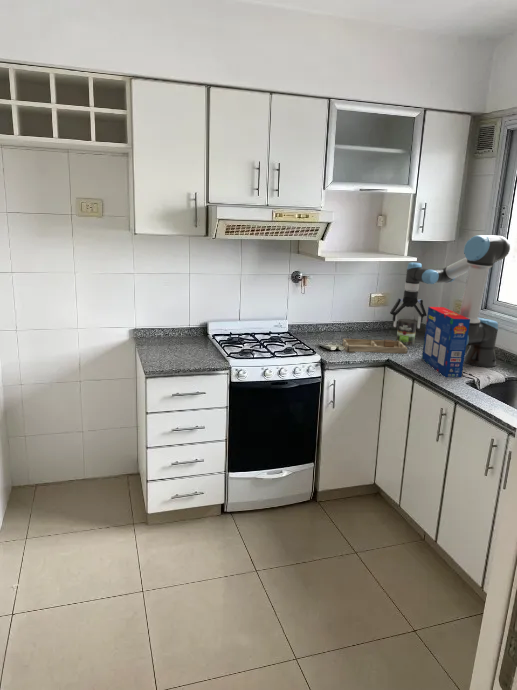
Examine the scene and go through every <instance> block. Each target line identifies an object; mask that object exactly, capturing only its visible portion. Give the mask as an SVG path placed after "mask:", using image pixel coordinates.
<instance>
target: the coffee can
mask: <svg viewBox="0 0 517 690" xmlns="http://www.w3.org/2000/svg"><path fill="white" fill-rule="evenodd" d="M397 322H398V323H397V329H396V330H397V331H396V339H395V341H400V342H401V343H402V344H403V345H404V346H406V347H407V346H414V345H415V339H416V333H417V332H416V329H417V324H418V320H415V319H410V318H400V319H397Z"/></svg>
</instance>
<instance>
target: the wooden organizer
mask: <svg viewBox="0 0 517 690" xmlns="http://www.w3.org/2000/svg"><path fill="white" fill-rule="evenodd" d="M384 340H385V339H367V338H366V339H363V338H361V339H359V338H342V346H344V347H345V348H344V347H343V348H344V350H345V351H346V353H351V354H352V353H355V354H356V352H358V353H359V352H362V353H363V352H366V353H367V352H368V353H383V354H384V353H385V354H386V353H387V354H389V353H390V354H408V350H409V349H408V348H407V346H406V345H403V344H402V343H401V342H400V341H396V340H393V341H394V347H383V346H384Z"/></svg>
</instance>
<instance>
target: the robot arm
mask: <svg viewBox="0 0 517 690" xmlns="http://www.w3.org/2000/svg"><path fill="white" fill-rule="evenodd" d="M463 248H464V249H463V253H464V258H462V259H459V260H458V261H456V262H453V263H451V264H450V265H448V266H444V267H443V268H424V267H422V266H423V265H422V263H420V262H413V261H411V262H409V263H407V268H406V276H405V282H404V291H403V298H400V297H398V298H397V300H396V302H395V304H394V305H393V307H392V308H391V311H389V314H390V315H392V321H393V327H394V328H396V327H397V322H398V314H399V313H400V312H401V311H402V310H403V309H404V308H414V309H415V311H416V312H417V314H418V315H419V316H418V315H417V317H418V318H417V325H416V329H420V328H421V323H423V319H424V318H425V317H427V315H428V313H427V311H426V309H425V306H424V303H423V302H424V301H423V299H422V298H420V299H418V296H419V292H418V291H419V288H420V283H423V284H427V285H434V284H437V283H438V284H439V283H440V284H441V283H446V284H447V283H452V282H454V281H455V280H456V278H458V277H460V276H463V275H465V274H467V276H466V281H465V286H464V291H463V295H462V300H461V303H460V310H459V314H460V315H462V316H464V317H466V318H469V319H470V324H469V331H468V337H467V344H466V347H467V346H469V348H468V350H467V352H465V357H464V363H466V364H469V365H470V366H471V365H472V366H474V365H475V366H476V367H480V366H483V367H482V368H493V367H496V365H497V358H496V353H495V347H496V343H497V336H498V332H499V323H498V321H496V320H493V319H489V318H483V317H479V314H480V309H481V305H482V301H483V296H484V291H485V287H486V282H487V279H488V278H487V277H488V272H489V269H490V268H492V267H494V263H497V262H499V261H502V260H503V259H505V258H506V257H507V256H508V255H509V252H510V250H511V244H510V242H509V240H508V239H507V238H506V237H504V236H502V235H491V234H490V235H489V234H488V235H486V234H485V235H484V234H480V235H474V236H472V237H471V238H469V239H468V240H467V241H466V243H465V244H464V247H463ZM401 303H402V304H401ZM417 303H418V304H419V306H420V309H419V307H418V306H417ZM400 304H401V305H400ZM399 305H400V306H399Z"/></svg>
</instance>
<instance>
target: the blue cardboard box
mask: <svg viewBox="0 0 517 690" xmlns="http://www.w3.org/2000/svg"><path fill="white" fill-rule="evenodd" d="M427 308H428V310H427V316H426V323H425V332H424V340H423V348H422V354H421V355H422V356H421V359H422V361H423V360H424V361H425V362H426V363H425V362H424V361H423V362H424V363H425V364H427V365H428V364H429V365H430V366H429V365H428V366H429V367H431V368H432V367H433V368H434V369H433V368H432V369H433V370H435V371H436V370H437V371H438V372H437V371H436V372H437V373H438V374H440V373H441V374H442V375H441V374H440V375H441V376H443V377H444V376H445V377H444V378H462V376H463V369H464V363H465V361H464V358H465V355H466V349H467V346H466V344H467V337H468V331H469V324H470V319H469V318H466V317H464V316H462V315H460V313H457V312H455V311H453V310H451V309H448V308H447V307H443V306H428V307H427Z"/></svg>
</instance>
